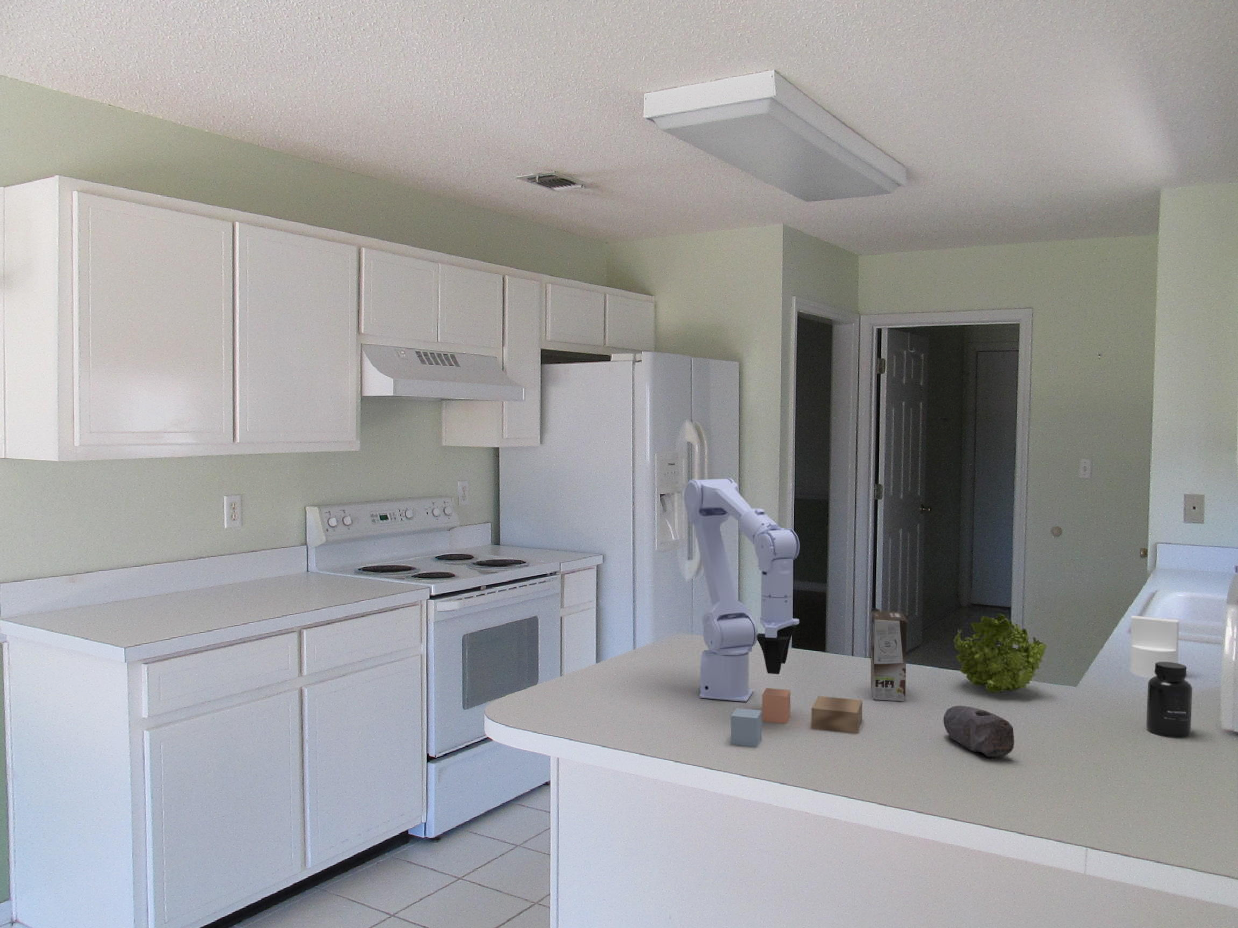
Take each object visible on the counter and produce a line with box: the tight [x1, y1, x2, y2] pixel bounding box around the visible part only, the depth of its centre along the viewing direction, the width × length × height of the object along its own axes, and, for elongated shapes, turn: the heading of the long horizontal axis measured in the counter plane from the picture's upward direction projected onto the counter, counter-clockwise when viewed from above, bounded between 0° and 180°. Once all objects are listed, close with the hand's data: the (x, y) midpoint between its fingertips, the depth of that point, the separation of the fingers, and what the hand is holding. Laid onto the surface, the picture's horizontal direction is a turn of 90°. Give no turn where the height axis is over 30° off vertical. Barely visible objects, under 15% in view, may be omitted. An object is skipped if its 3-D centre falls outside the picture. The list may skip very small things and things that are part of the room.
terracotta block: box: [761, 687, 791, 725], centre depth 176 cm, size 4×4×5 cm
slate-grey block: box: [730, 707, 763, 748], centre depth 164 cm, size 4×4×5 cm
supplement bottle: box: [1145, 662, 1193, 738], centre depth 168 cm, size 7×7×12 cm
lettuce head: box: [953, 613, 1047, 694], centre depth 194 cm, size 18×16×16 cm
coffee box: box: [870, 610, 908, 702], centre depth 191 cm, size 9×6×16 cm
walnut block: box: [810, 695, 863, 734], centre depth 173 cm, size 8×8×4 cm
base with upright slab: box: [1129, 615, 1180, 679], centre depth 206 cm, size 9×9×12 cm
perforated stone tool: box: [942, 705, 1015, 758], centre depth 160 cm, size 15×5×7 cm, turn 17°
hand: (776, 668), depth 176 cm, fingers open, 7 cm apart
